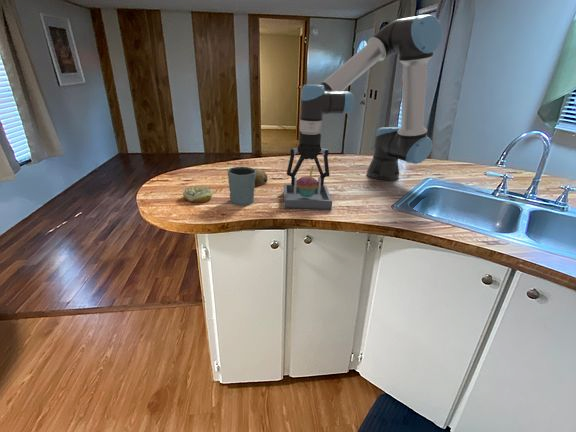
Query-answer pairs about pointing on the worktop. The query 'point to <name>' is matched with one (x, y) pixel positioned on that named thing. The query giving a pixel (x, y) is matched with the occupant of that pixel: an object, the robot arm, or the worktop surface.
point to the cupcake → (307, 185)
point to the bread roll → (260, 177)
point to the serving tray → (307, 199)
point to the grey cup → (241, 185)
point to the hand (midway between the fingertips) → (306, 193)
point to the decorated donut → (197, 194)
